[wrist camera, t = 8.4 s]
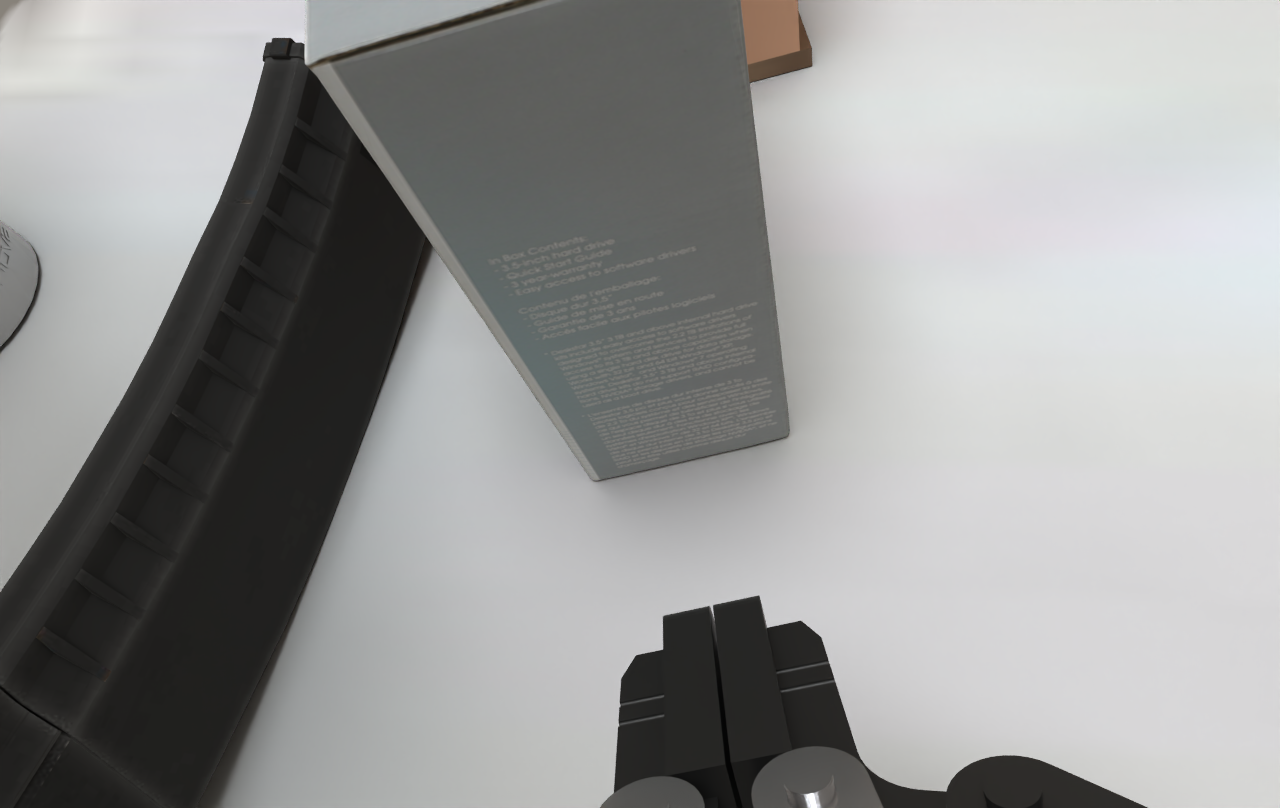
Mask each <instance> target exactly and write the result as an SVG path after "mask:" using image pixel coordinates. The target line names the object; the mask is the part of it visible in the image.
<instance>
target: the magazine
mask: <svg viewBox="0 0 1280 808" xmlns="http://www.w3.org/2000/svg"><path fill="white" fill-rule="evenodd" d="M304 55H305V44H303V43H295V42H294V41H293V40H292V39H291V38H273V39H272V43H266V46H265V50H264V54H263V61H264V62H265V63H264V67H263V71H262V74H261V78H260V82H259V86H258V89H257V93H256V97H255V101H254V104H253V108H252V112H251V115H250V118H249V121H248V124H247V127H246V130H245V133H244V136H243V139H242V142H241V145H240V148H239V150H238V153H237V156H236V159H235V162H234V164H233V167H232V170H231V172H230V175H229V177H228V180H227V182H226V185H225V187H224V190H223V192H222V195H221V197H220V200H219V202H218V204H217V206H216V208H215V211H214V213H213V215H212V217H211V219H210V221H209V223H208V225H207V227H206V229H205V231H204V233H203V235H202V237H201V239H200V242H199V244H198V246H197V248H196V250H195V252H194V254H193V256H192V258H191V261H190V263H189V265H188V267H187V269H186V272H185V274H184V276H183V278H182V280H181V282H180V285H179V287H178V289H177V291H176V293H175V296H174V298H173V300H172V302H171V304H170V306H169V308H168V310H167V313H166V315H165V317H164V319H163V321H162V323H161V325H160V327H159V330H158V332H157V334H156V336H155V338H154V340H153V342H152V344H151V346H150V348H149V350H148V352H147V354H146V356H145V358H144V359H143V361H142V363H141V365H140V367H139V369H138V371H137V373H136V375H135V376H134V378H133V380H132V382H131V384H130V386H129V388H128V390H127V392H126V393H125V395H124V397H123V399H122V400H121V402H120V404H119V406H118V407H117V409H116V411H115V412H114V414H113V416H112V418H111V419H110V421H109V423H108V424H107V426H106V428H105V429H104V431H103V433H102V435H101V436H100V438H99V440H98V441H97V443H96V445H95V446H94V448H93V450H92V452H91V453H90V455H89V457H88V458H87V460H86V462H85V463H84V465H83V467H82V468H81V470H80V472H79V473H78V475H77V477H76V478H75V480H74V482H73V483H72V485H71V487H70V488H69V490H68V492H67V493H66V495H65V497H64V498H63V500H62V502H61V503H60V505H59V506H58V508H57V509H56V511H55V512H54V514H53V515H52V517H51V518H50V520H49V521H48V523H47V524H46V526H45V527H44V529H43V530H42V532H41V533H40V535H39V536H38V538H37V539H36V541H35V542H34V544H33V545H32V547H31V548H30V550H29V551H28V553H27V554H26V556H25V557H24V559H23V560H22V562H21V563H20V565H19V566H18V568H17V569H16V570H15V572H14V573H13V575H12V576H11V578H10V579H9V580H8V582H7V583H6V585H5V586H4V588H3V589H2V591H1V592H0V808H196V806H197V804H198V802H199V800H200V798H201V796H202V794H203V792H204V790H205V788H206V787H207V785H208V783H209V781H210V779H211V777H212V775H213V773H214V771H215V769H216V767H217V765H218V763H219V761H220V759H221V757H222V755H223V753H224V751H225V749H226V747H227V745H228V743H229V741H230V739H231V737H232V735H233V733H234V731H235V728H236V726H237V724H238V722H239V720H240V718H241V716H242V714H243V712H244V710H245V708H246V706H247V704H248V702H249V700H250V698H251V696H252V694H253V692H254V690H255V688H256V686H257V684H258V682H259V680H260V678H261V676H262V674H263V672H264V670H265V667H266V665H267V663H268V661H269V659H270V657H271V655H272V653H273V651H274V649H275V647H276V645H277V643H278V641H279V639H280V637H281V635H282V633H283V631H284V629H285V627H286V624H287V622H288V620H289V618H290V615H291V613H292V611H293V609H294V606H295V604H296V602H297V600H298V597H299V595H300V593H301V591H302V589H303V586H304V584H305V582H306V580H307V577H308V575H309V573H310V570H311V568H312V566H313V563H314V561H315V558H316V556H317V554H318V551H319V549H320V546H321V544H322V542H323V539H324V537H325V535H326V532H327V530H328V527H329V525H330V523H331V520H332V518H333V515H334V512H335V510H336V507H337V505H338V502H339V499H340V497H341V494H342V491H343V489H344V486H345V484H346V481H347V478H348V476H349V473H350V471H351V468H352V465H353V462H354V460H355V457H356V454H357V452H358V449H359V446H360V443H361V441H362V438H363V435H364V432H365V430H366V427H367V424H368V421H369V419H370V416H371V413H372V410H373V407H374V404H375V401H376V398H377V395H378V392H379V389H380V386H381V383H382V380H383V377H384V374H385V371H386V368H387V365H388V361H389V358H390V355H391V352H392V349H393V346H394V343H395V339H396V336H397V333H398V330H399V327H400V324H401V320H402V317H403V313H404V310H405V307H406V303H407V300H408V296H409V293H410V289H411V286H412V282H413V279H414V275H415V272H416V269H417V265H418V262H419V258H420V255H421V251H422V248H423V244H424V241H425V238H426V235H425V234H424V232H423V231H422V229H421V228H420V227H419V225H418V224H417V222H416V221H415V219H414V218H413V216H412V215H411V213H410V212H409V210H408V209H407V207H406V206H405V204H404V203H403V201H402V200H401V199H400V197H399V196H398V194H397V193H396V191H395V190H394V188H393V187H392V185H391V184H390V182H389V181H388V179H387V178H386V176H385V175H384V174H383V172H382V171H381V169H380V168H379V166H378V165H377V163H376V162H375V161H374V159H373V158H372V156H371V155H370V153H369V152H368V150H367V149H366V148H365V146H364V145H363V143H362V142H361V140H360V139H359V137H358V136H357V135H356V133H355V132H354V130H353V129H352V127H351V126H350V124H349V123H348V121H347V120H346V119H345V117H344V116H343V114H342V113H341V111H340V110H339V108H338V107H337V105H336V104H335V102H334V101H333V99H332V98H331V96H330V95H329V93H328V92H327V90H326V89H325V87H324V86H323V84H322V83H321V81H320V80H319V79H318V77H317V76H316V75H315V74H314V73H313V72H312V71H311V70H310V69H309V68H308V67H307V66H306V65H305V56H304Z"/></svg>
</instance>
